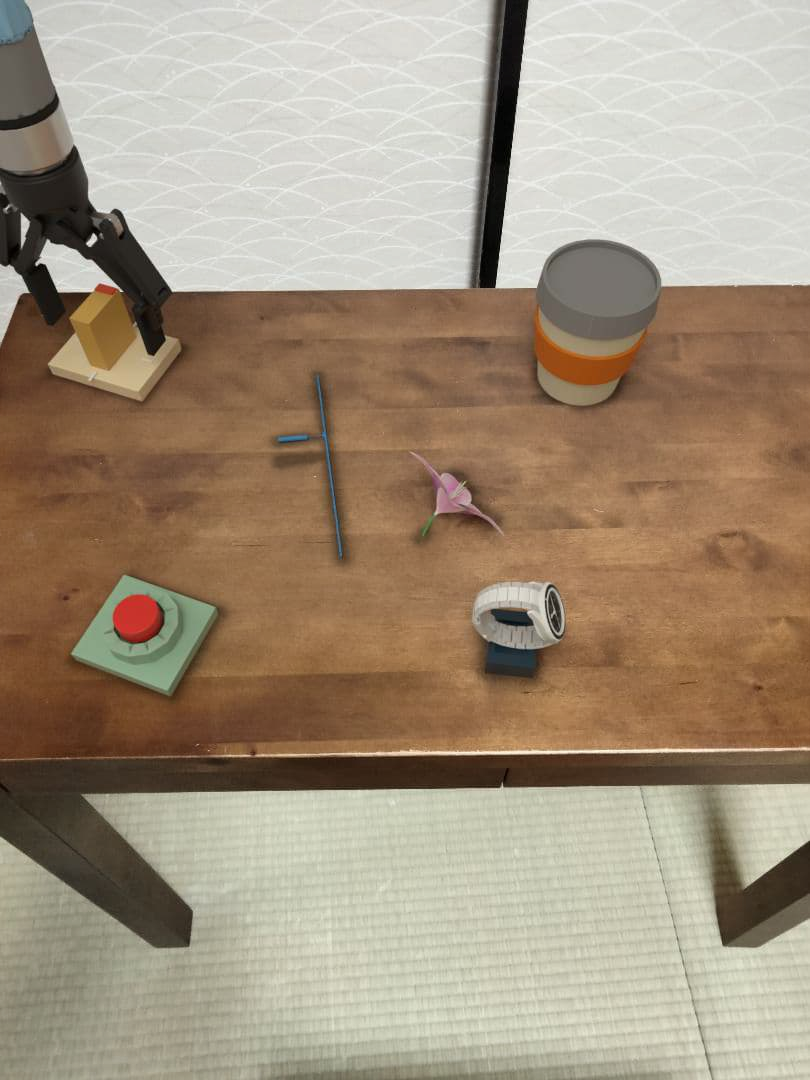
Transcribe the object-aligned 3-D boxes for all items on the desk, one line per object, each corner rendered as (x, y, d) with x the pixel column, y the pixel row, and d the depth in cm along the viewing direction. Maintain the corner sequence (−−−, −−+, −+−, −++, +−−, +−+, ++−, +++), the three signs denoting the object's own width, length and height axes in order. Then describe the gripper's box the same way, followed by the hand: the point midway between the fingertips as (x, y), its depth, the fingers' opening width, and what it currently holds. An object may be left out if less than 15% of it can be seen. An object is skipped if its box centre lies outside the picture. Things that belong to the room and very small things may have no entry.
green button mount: (78, 664, 75) (63, 644, 72) (130, 585, 80) (118, 564, 77) (173, 700, 74) (162, 682, 70) (220, 617, 78) (212, 597, 75)
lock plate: (52, 383, 95) (43, 366, 93) (100, 326, 100) (93, 309, 98) (141, 410, 93) (135, 394, 91) (186, 351, 98) (181, 334, 96)
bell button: (109, 634, 73) (103, 625, 72) (132, 597, 75) (127, 588, 74) (148, 648, 72) (142, 639, 71) (171, 611, 74) (166, 602, 73)
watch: (552, 685, 74) (573, 630, 65) (464, 674, 75) (473, 618, 66) (554, 630, 77) (574, 570, 68) (469, 620, 78) (478, 560, 69)
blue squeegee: (289, 561, 80) (342, 555, 80) (272, 377, 93) (318, 374, 94) (290, 568, 81) (342, 562, 82) (274, 386, 95) (318, 383, 95)
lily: (499, 586, 81) (539, 508, 76) (390, 571, 77) (425, 488, 72) (465, 516, 90) (499, 442, 85) (366, 499, 86) (395, 421, 81)
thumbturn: (108, 371, 93) (88, 322, 87) (90, 365, 93) (68, 316, 87) (136, 336, 96) (118, 287, 90) (118, 331, 96) (99, 281, 90)
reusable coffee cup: (600, 334, 100) (629, 227, 87) (649, 407, 93) (687, 303, 80) (505, 357, 97) (520, 251, 85) (548, 433, 91) (571, 330, 78)
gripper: (173, 159, 74) (218, 338, 92) (-50, 105, 79) (34, 285, 96) (129, 206, 70) (185, 383, 88) (-103, 147, 75) (-5, 326, 93)
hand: (106, 332), depth 92 cm, fingers open, 12 cm apart
